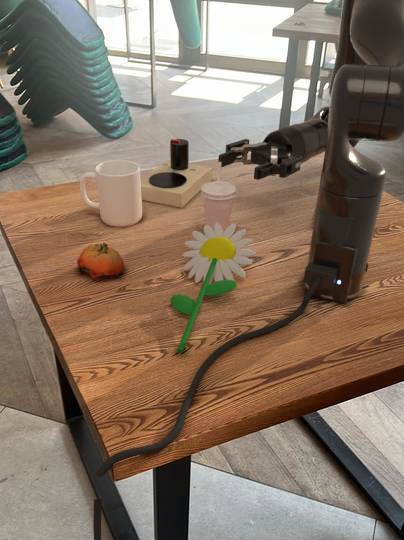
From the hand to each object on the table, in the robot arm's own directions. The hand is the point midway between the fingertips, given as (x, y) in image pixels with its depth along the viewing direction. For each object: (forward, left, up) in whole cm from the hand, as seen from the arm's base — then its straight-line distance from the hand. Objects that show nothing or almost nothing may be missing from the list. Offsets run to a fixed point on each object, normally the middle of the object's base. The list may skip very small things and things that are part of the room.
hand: (237, 167), depth 103 cm
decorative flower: (-25, -4, -12) cm, 28 cm away
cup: (-6, +24, -12) cm, 27 cm away
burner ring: (+9, +19, -9) cm, 23 cm away
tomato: (-25, +15, -12) cm, 31 cm away
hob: (+12, +19, -12) cm, 25 cm away
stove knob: (+17, +20, -9) cm, 28 cm away
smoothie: (-5, +2, -12) cm, 13 cm away
